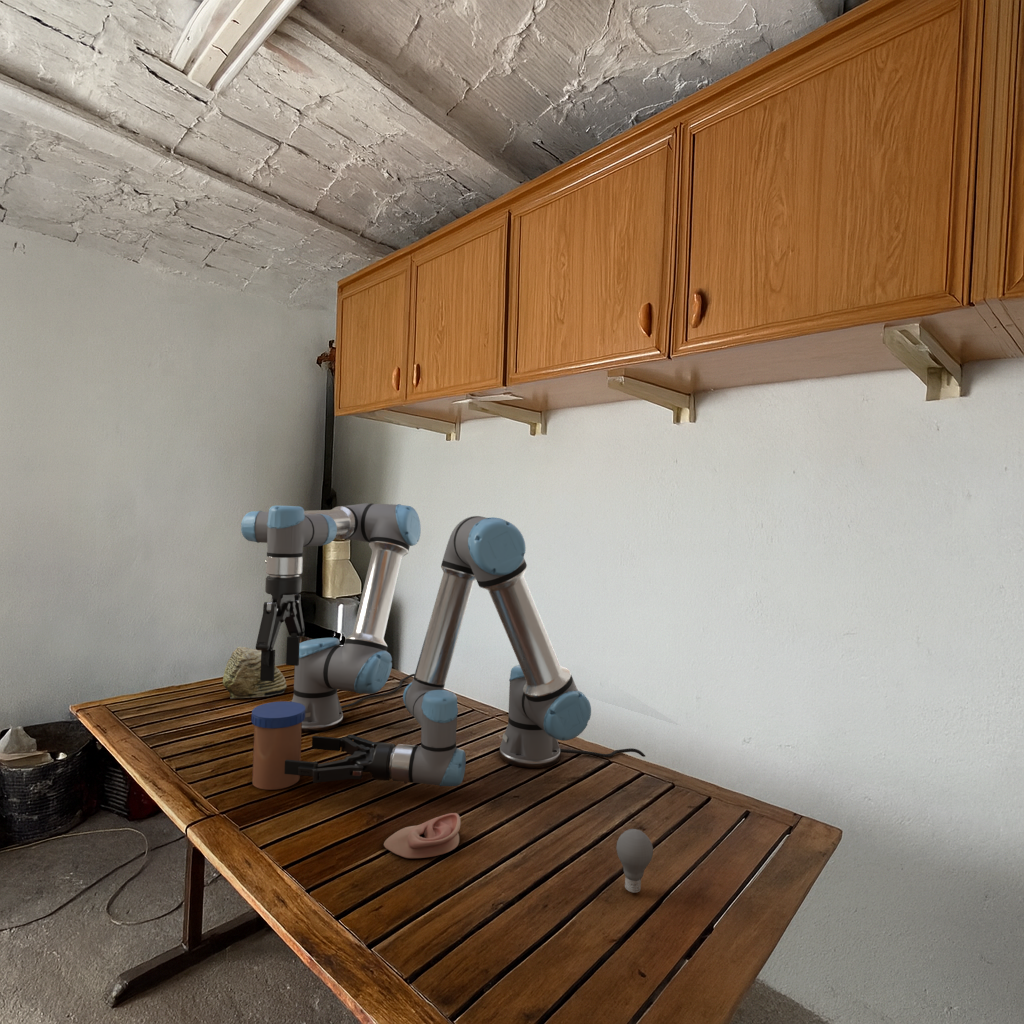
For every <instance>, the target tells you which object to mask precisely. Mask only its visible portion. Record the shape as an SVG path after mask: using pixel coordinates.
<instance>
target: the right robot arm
mask: <svg viewBox="0 0 1024 1024" xmlns="http://www.w3.org/2000/svg"><path fill="white" fill-rule="evenodd" d="M526 549H527V547H526V542H525V538H524V536H523V534H522V532H521V531H520V529H519V528H518V527H517V526H516V525H515V524H513V523H511V522H510V521H507V520H505V519H504V518H501V517H486V516H479V515H474V516H469V517H468V516H467V518H464V519H462V520H461V521H459V522H458V523H457V524H456V525H455V527H454V528H453V529H452V531H451V534H450V535H449V539H448V541H447V544H446V547H445V551H444V554H443V556H442V561H441V565H440V568H441V570H442V577H441V581H440V584H439V587H438V590H437V594H436V597H435V601H434V605H433V608H432V612H431V615H430V620H429V623H428V626H427V630H426V633H425V636H424V640H423V644H422V646H421V650H420V654H419V658H418V661H417V665H416V668H415V671H414V674H415V675H414V676H413V678H412V681H411V682H410V683H408V684H407V685H406V687H405V688H404V691H403V693H402V700H403V704H404V706H405V708H406V710H407V711H408V713H409V714H410V715H411V716H412V717H413V718H414V719H415V721H416V722H417V723H418V724H419V726H420V728H421V729H420V730H421V731H420V733H421V734H420V735H421V736H420V745H417V744H406V743H405V744H404V743H398V744H395V743H391V742H377V741H372V740H368V739H365V738H363V737H360V736H357V735H354V734H347V735H346V736H343V737H342V738H341V737H330V736H322V735H321V736H319V735H313V736H312V737H311V749H312V750H321V751H322V750H323V751H331V752H340V753H344V752H346V753H347V754H348V755H347V756H345V758H343V759H339V760H333V761H328V762H323V763H318V761H316V760H315V761H307V760H301V761H297V760H286V761H285V773H284V774H291V775H300V776H302V777H303V776H304V777H312V783H314V784H316V783H319V784H320V783H327V782H336V781H345V780H362V779H363V773H370V774H371V776H372V778H373V779H374V780H375V781H386V782H388V781H391V780H392V781H393V782H401V783H404V784H406V785H407V784H408V783H410V784H420V785H431V786H439V787H459V786H460V785H462V783H463V782H464V778H465V774H466V773H465V772H466V765H467V763H466V762H467V757H466V755H467V754H466V752H465V750H464V749H461V748H459V747H457V743H456V742H457V725H458V724H457V723H458V714H459V708H458V696H457V695H456V693H455V692H453V691H449V690H447V689H444V688H445V686H446V681H447V678H448V674H449V670H450V667H451V663H452V660H453V657H454V654H455V649H456V646H457V643H458V639H459V636H460V632H461V628H462V625H463V622H464V618H465V614H466V612H467V611H466V610H467V608H468V604H469V601H470V597H471V594H472V590H473V587H474V583H475V581H476V583H477V586H478V587H479V588H480V589H483V590H486V591H488V593H489V596H490V598H491V600H492V602H493V606H494V608H495V610H496V612H497V615H498V617H499V620H500V622H501V624H502V627H503V629H504V631H505V634H506V636H507V638H508V641H509V643H510V646H511V648H512V650H513V653H514V655H515V657H516V660H517V663H518V664H516V665H514V666H513V667H512V668H511V669H510V673H509V674H510V675H509V680H508V681H509V687H508V688H509V689H508V715H507V716H508V718H507V726H506V728H505V731H504V732H503V734H502V737H501V738H502V739H501V742H500V745H499V757H500V759H501V760H503V761H504V762H505V763H507V764H509V765H512V766H515V767H520V768H527V769H540V768H547V767H551V766H553V765H555V764H557V763H558V762H559V761H560V759H561V753H564V754H575V755H576V754H577V755H586V756H587V755H588V756H596V757H600V758H612V757H614V756H615V755H618V754H624V753H636V754H638V755H640V757H643V758H644V757H645V758H646V754H645V753H644V752H643V751H642V750H640V749H638V748H633V747H632V748H631V747H630V748H622V749H616V750H613V751H611V752H609V753H600V752H597V751H589V750H581V749H580V750H579V749H567V748H560V745H559V744H560V743H559V741H562V742H563V741H566V742H567V741H570V740H571V741H572V740H573V739H575V738H577V737H578V736H579V735H581V734H582V733H583V732H584V731H585V729H586V728H587V726H588V723H589V721H590V719H591V716H592V706H591V702H590V699H589V698H588V697H587V696H586V694H585V693H584V692H582V691H580V690H578V688H577V685H576V683H575V680H574V677H573V676H572V673H571V670H570V669H568V668H567V667H565V666H562V665H561V664H560V661H559V659H558V656H557V653H556V651H555V649H554V647H553V646H554V645H553V644H552V641H551V639H550V636H549V634H548V631H547V629H546V627H545V624H544V622H543V619H542V617H541V615H540V612H539V610H538V607H537V604H536V602H535V600H534V597H533V595H532V592H531V590H530V587H529V585H528V582H527V580H526V578H525V574H526V572H527V569H528V564H527V562H526V560H525V555H526Z"/></svg>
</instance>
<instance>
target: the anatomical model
mask: <svg viewBox="0 0 1024 1024" xmlns="http://www.w3.org/2000/svg"><path fill="white" fill-rule="evenodd" d="M461 820H462V819H461V816H460V815H459V813H456V812H450V813H446V814H443V815H439V816H437V817H434V818H431V819H428V820H427V821H425V822H423V823H420V824H418V825H409V826H406V827H403V828H400V829H399V830H397V831H395V832H394V833H393V834H391V835H390V836H388V838H386V839H385V841H384V842H383V847H384V848H385V849H386V850H388V851H389V852H391V853H393V854H395V855H396V856H400V857H402V858H405V859H425V858H432V857H436V856H440V855H441V856H442V855H444V854H447V853H449V852H451V851H453V850H456V848H457V847H458V845H459V843H460V834H459V832H460V829H461V826H462V825H461V824H462V822H461Z"/></svg>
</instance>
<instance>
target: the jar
mask: <svg viewBox="0 0 1024 1024" xmlns="http://www.w3.org/2000/svg"><path fill="white" fill-rule="evenodd" d="M302 733H303V732H302V722H301V723H299V724H296V725H293V726H290V727H284V728H262V727H258V726H255V725H253V748H252V749H253V751H252V774H251V775H252V777H251V778H252V779H251V783H252V786H254V787H255V788H257V789H260V790H265V791H266V790H267V791H275V790H281V789H287V788H289V787H291V786H293V785H296V784H297V783H298V782H299V781H300V778H301V775H291V774H284V773H285V761H286V760H297V761H302V758H301V757H302V737H303V736H302V735H303V734H302Z"/></svg>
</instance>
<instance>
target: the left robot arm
mask: <svg viewBox="0 0 1024 1024" xmlns="http://www.w3.org/2000/svg"><path fill="white" fill-rule="evenodd" d="M421 527H422V526H421V520H420V516H419V514H418V512H417V510H416V509H415V508H414V507H412V505H406V504H400V503H398V504H393V503H391V504H389V503H372V502H371V503H370V502H368V503H367V502H365V503H357V504H349V505H340V506H335V507H333V508H332V509H321V510H319V509H318V510H317V509H316V510H305V509H304V507H302V506H300V505H299V506H298V505H272V506H270V508H269V509H268V511H263V510H258V511H257V510H255V511H254V510H253V511H249V512H247V513H246V514H245V515H244V516H243V517H242V519H241V523H240V531H241V534H242V537H243V539H245V540H246V541H248V542H254V543H257V544H260V543H263V544H267V545H266V559H265V560H264V564H265V565H266V567H265V571H266V574H267V576H266V577H265V586H264V587H265V588H264V591H265V593H266V594H268V595H271V598H270V599H271V600H270V601H264V602H263V608H262V615H261V621H260V624H259V630H258V634H257V637H256V643H255V649H256V650H261V672H260V681H274V671H275V665H276V649H274V647H275V644H276V641H277V638H278V635H279V632H280V629H281V626H282V623H284V624H285V627H286V630H287V632H288V635H289V636H287V637H286V653H285V654H286V658H285V665H286V666H293V667H294V672H293V673H294V674H293V695H292V696H293V697H292V699H291V702H296V703H300V704H302V705H304V706H305V719H304V720H303V721H302V733H316V732H325V731H329V730H332V729H335V728H337V727H339V726H340V725H342V723H343V722H344V714H343V709H345V708H349V707H353V706H356V705H357V704H359V703H361V702H363V701H366V700H369V699H372V698H373V699H374V698H379V697H384V696H388V695H391V694H394V693H396V692H397V691H398V690H400V689H401V688H402V686H403V682H405V681H406V680H408V679H409V678H412V677H414V675H415V673H411V674H409V675H407V676H405V677H403V678H401V680H400V681H399V685H398V686H397V687H396V688H394V689H391V690H389V691H387V692H382V693H378V692H380V691H381V690H382V689H383V688H384V686H385V685H386V683H387V682H388V680H389V678H390V675H391V671H392V667H393V662H392V661H393V658H392V655H391V653H390V652H388V651H387V650H388V644H387V643H386V641H385V634H386V630H387V626H388V620H389V617H390V613H391V608H392V604H393V599H394V594H395V590H396V587H397V586H396V585H397V582H398V576H399V572H400V568H401V563H402V558H403V557H405V556H406V555H408V554H409V551H410V547H413V546H416V545H417V544H418V542H419V541H420V537H421V529H422V528H421ZM335 539H336V540H353V541H359V542H364V543H368V547H369V548H370V549H371V556H370V559H369V564H368V568H367V572H366V576H365V581H364V585H363V589H362V593H361V597H360V601H359V606H358V609H357V614H356V618H355V622H354V626H353V630H352V633H351V634H350V635H348V636H347V637H345V640H344V643H343V645H340V644H341V641H340V639H339V638H337V637H321V638H313V639H307V640H304V641H302V642H301V637H304V636H305V622H304V616H303V610H302V601H301V600H302V595H301V594H300V593H301V592H302V582H303V581H302V580H303V578H302V577H301V575H302V574H303V551H304V547H322V546H326V545H329V544H330V543H332V542H333V541H335ZM338 691H345V692H351V693H356V694H359V695H362V694H366V695H367V694H368V695H367V696H363V697H361V698H359V699H357V700H355V701H353V702H350V703H348V704H344V705H341V702H340V699H339V695H338ZM376 693H377V694H376Z"/></svg>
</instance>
